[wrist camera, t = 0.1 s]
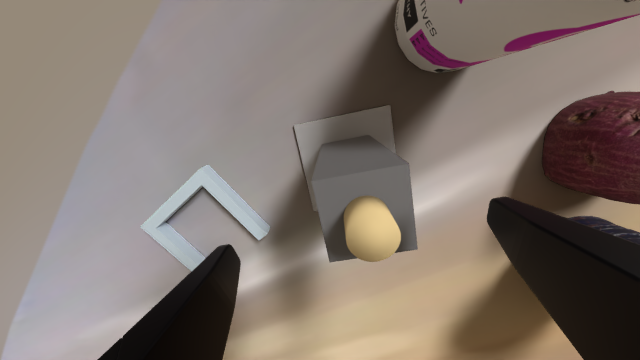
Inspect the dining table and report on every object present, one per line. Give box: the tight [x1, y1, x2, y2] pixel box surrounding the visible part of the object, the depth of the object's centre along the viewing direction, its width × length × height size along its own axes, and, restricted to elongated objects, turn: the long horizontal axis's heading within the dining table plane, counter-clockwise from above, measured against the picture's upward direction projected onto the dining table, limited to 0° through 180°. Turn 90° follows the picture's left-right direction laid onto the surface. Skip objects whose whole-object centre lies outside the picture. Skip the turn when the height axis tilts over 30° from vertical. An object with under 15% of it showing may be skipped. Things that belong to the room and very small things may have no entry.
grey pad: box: [294, 105, 396, 211], centre depth 23 cm, size 9×9×1 cm
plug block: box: [311, 135, 418, 262], centre depth 16 cm, size 4×4×14 cm
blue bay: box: [140, 165, 270, 272], centre depth 25 cm, size 9×10×2 cm
